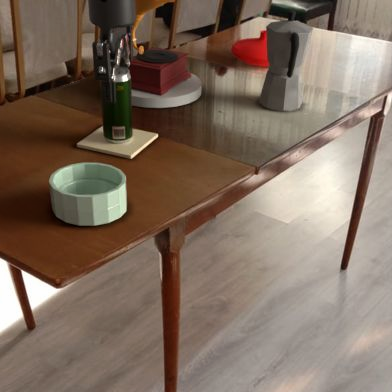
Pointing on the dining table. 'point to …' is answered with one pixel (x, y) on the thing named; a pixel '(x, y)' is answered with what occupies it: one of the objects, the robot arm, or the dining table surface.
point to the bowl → (88, 193)
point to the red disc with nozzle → (252, 50)
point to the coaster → (122, 150)
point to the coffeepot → (285, 63)
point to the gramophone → (160, 71)
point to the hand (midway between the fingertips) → (116, 96)
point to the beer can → (119, 110)
